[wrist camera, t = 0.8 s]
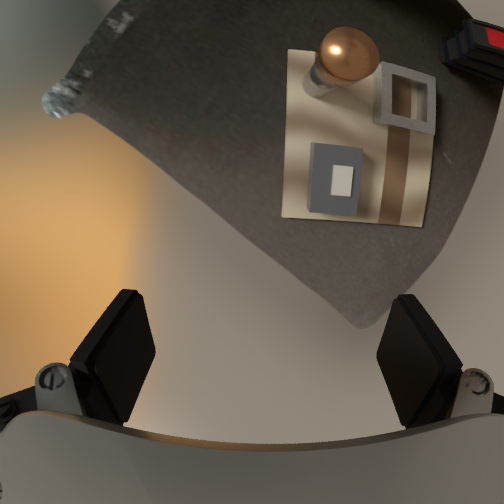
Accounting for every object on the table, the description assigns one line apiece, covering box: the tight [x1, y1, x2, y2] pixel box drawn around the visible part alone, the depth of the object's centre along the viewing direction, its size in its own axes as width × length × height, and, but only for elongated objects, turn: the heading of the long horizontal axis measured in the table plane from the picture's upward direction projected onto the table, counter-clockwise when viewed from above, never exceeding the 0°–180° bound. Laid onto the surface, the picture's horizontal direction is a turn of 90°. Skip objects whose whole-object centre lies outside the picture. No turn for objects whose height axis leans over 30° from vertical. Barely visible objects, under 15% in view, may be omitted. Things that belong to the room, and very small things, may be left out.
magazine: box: [439, 18, 504, 84], centre depth 17 cm, size 4×13×15 cm, turn 93°
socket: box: [372, 61, 436, 135], centre depth 24 cm, size 7×7×2 cm
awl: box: [302, 27, 379, 98], centre depth 19 cm, size 4×4×13 cm
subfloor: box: [282, 49, 434, 227], centre depth 28 cm, size 19×18×1 cm
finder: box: [306, 142, 363, 216], centre depth 28 cm, size 7×5×3 cm
